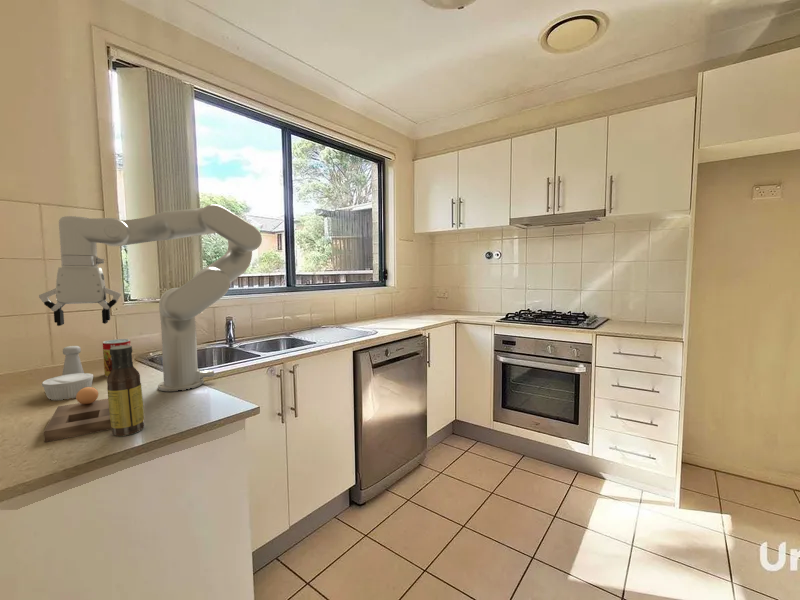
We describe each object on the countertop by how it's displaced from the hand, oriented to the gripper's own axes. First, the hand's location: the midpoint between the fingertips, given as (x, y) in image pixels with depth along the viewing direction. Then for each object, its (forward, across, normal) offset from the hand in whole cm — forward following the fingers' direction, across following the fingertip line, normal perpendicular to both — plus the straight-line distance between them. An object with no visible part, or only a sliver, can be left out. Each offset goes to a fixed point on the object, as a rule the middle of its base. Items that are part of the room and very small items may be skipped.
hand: (83, 324), depth 102 cm
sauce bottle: (+22, -13, +29) cm, 39 cm away
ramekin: (+22, +6, -10) cm, 25 cm away
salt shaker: (+22, +8, -20) cm, 31 cm away
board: (+22, -4, +17) cm, 29 cm away
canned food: (+22, -2, -31) cm, 38 cm away
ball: (+18, -2, +11) cm, 21 cm away
